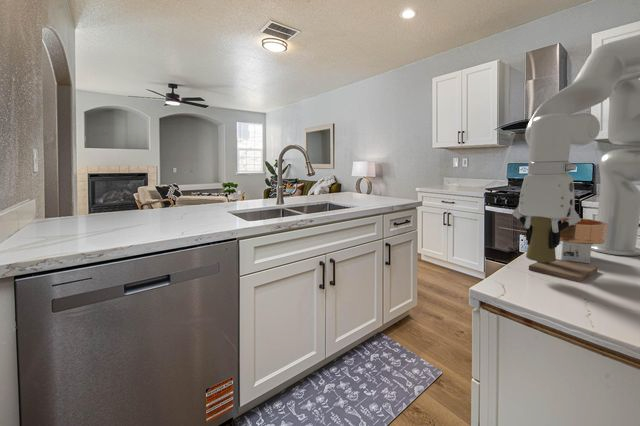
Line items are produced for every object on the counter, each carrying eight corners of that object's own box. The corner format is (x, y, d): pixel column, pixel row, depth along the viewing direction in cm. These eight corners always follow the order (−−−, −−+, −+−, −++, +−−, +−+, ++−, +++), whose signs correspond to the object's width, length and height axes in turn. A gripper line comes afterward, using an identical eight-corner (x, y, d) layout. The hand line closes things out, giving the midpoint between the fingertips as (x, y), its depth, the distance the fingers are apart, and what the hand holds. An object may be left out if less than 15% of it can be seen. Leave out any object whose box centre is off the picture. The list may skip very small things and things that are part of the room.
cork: (561, 262, 72) (565, 215, 70) (532, 261, 73) (535, 216, 72) (548, 254, 78) (551, 211, 76) (521, 254, 79) (524, 211, 77)
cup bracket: (547, 261, 90) (552, 215, 87) (607, 273, 79) (613, 221, 77) (528, 269, 83) (532, 220, 81) (590, 284, 72) (597, 227, 70)
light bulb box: (590, 264, 87) (594, 226, 85) (560, 260, 90) (563, 224, 89) (583, 254, 96) (587, 220, 94) (556, 251, 99) (559, 218, 98)
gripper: (599, 168, 67) (591, 250, 70) (516, 168, 81) (512, 237, 84) (586, 170, 63) (578, 256, 66) (502, 170, 77) (498, 242, 80)
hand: (541, 245), depth 75 cm, fingers closed on cork, 3 cm apart
